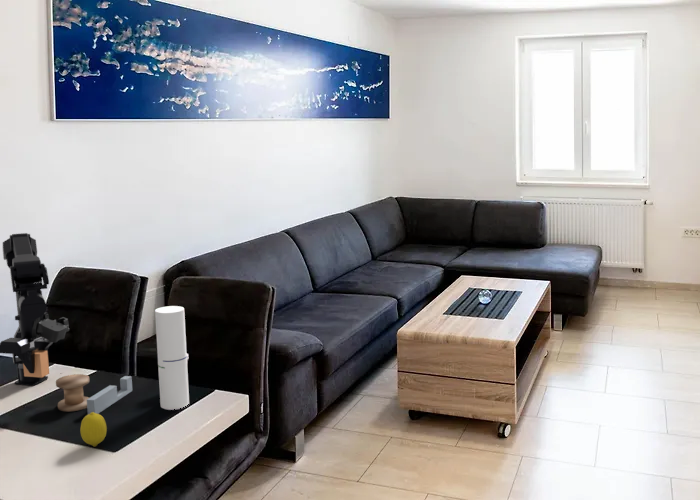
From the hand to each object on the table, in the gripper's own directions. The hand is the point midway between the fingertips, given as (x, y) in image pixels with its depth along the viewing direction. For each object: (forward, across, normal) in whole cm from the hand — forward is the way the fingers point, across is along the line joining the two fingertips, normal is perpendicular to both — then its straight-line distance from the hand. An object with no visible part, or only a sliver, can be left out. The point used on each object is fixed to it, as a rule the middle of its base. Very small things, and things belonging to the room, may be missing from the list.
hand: (36, 371), depth 187 cm
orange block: (+1, 0, +1) cm, 2 cm away
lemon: (+11, -17, -26) cm, 33 cm away
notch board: (+10, +8, -15) cm, 20 cm away
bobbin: (+10, +4, -7) cm, 13 cm away
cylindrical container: (+10, +10, -32) cm, 35 cm away
